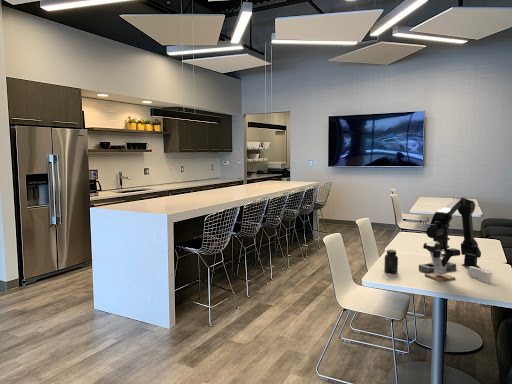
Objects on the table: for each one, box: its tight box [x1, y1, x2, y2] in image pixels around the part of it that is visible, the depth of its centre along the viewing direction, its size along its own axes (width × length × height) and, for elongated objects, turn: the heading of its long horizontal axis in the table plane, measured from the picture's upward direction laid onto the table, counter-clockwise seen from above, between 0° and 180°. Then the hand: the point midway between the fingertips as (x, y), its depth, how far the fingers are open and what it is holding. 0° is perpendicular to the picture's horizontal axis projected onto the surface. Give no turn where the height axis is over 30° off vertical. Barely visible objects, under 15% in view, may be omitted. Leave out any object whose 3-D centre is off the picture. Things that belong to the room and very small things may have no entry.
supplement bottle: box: [383, 249, 399, 275], centre depth 206 cm, size 7×7×12 cm
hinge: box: [429, 251, 443, 263], centre depth 229 cm, size 17×5×10 cm, turn 148°
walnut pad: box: [424, 273, 456, 283], centre depth 197 cm, size 10×10×1 cm
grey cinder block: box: [418, 261, 457, 274], centre depth 211 cm, size 20×7×3 cm, turn 112°
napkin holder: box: [468, 266, 492, 283], centre depth 194 cm, size 15×11×6 cm
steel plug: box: [434, 257, 447, 275], centre depth 196 cm, size 4×4×8 cm
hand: (440, 265), depth 196 cm, fingers closed on steel plug, 4 cm apart
